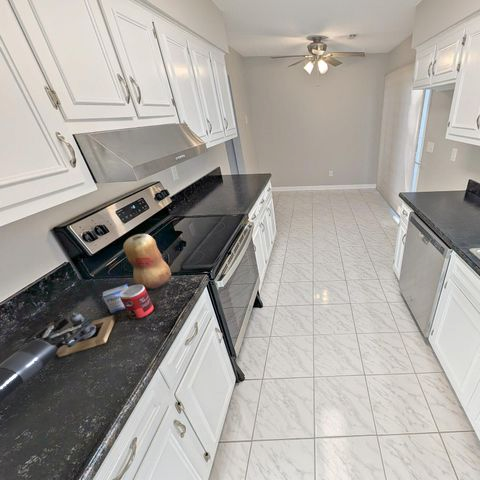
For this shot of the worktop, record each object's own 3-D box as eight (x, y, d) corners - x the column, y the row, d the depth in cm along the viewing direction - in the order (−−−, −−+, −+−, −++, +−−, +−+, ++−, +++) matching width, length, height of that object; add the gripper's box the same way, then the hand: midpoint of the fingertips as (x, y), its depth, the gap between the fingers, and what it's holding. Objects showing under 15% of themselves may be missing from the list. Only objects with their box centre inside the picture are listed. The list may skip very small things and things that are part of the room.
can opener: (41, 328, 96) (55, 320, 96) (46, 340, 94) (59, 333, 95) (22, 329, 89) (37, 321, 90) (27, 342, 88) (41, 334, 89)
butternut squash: (138, 299, 106) (113, 247, 95) (141, 283, 117) (118, 235, 106) (174, 288, 112) (154, 238, 101) (174, 274, 123) (156, 227, 112)
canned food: (129, 313, 99) (117, 290, 94) (152, 303, 104) (142, 281, 99) (131, 323, 94) (119, 300, 89) (156, 313, 98) (145, 290, 93)
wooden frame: (59, 358, 81) (55, 353, 80) (75, 331, 92) (72, 326, 91) (106, 344, 86) (103, 339, 84) (116, 320, 96) (113, 315, 95)
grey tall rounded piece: (76, 341, 88) (58, 314, 82) (96, 330, 92) (80, 304, 87) (82, 348, 85) (63, 321, 79) (103, 336, 89) (86, 310, 84)
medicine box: (111, 314, 99) (101, 297, 95) (112, 308, 102) (102, 291, 98) (135, 305, 103) (126, 288, 99) (134, 300, 106) (126, 283, 102)
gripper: (42, 352, 68) (93, 310, 83) (-5, 352, 70) (53, 311, 84) (57, 370, 72) (103, 327, 86) (11, 370, 73) (65, 327, 87)
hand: (78, 319), depth 85 cm, fingers open, 8 cm apart
